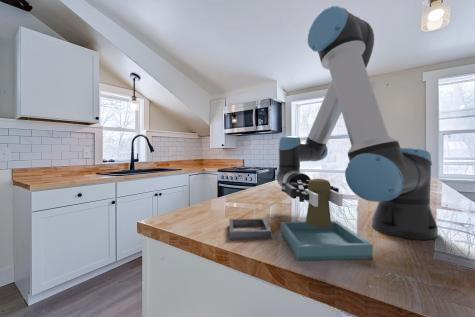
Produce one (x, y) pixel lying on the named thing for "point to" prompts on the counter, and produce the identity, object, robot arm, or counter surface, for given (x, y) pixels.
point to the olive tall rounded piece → (319, 204)
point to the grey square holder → (250, 233)
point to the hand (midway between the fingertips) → (328, 200)
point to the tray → (325, 242)
